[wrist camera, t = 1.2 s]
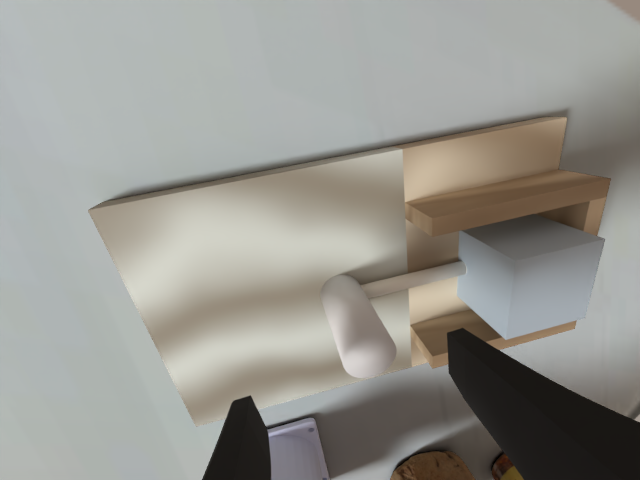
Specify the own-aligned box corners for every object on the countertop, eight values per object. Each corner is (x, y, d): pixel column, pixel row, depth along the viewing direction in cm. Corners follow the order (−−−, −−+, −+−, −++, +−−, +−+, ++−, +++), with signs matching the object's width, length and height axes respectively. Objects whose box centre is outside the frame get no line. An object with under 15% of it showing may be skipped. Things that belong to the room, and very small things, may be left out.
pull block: (522, 279, 21) (603, 329, 16) (326, 328, 20) (349, 401, 15) (531, 212, 19) (627, 246, 14) (314, 262, 18) (335, 320, 13)
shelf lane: (516, 322, 25) (566, 362, 21) (199, 407, 22) (186, 473, 18) (544, 116, 18) (625, 116, 14) (102, 202, 16) (47, 232, 12)
